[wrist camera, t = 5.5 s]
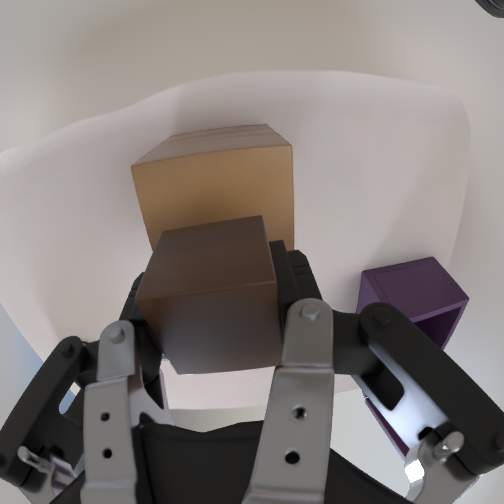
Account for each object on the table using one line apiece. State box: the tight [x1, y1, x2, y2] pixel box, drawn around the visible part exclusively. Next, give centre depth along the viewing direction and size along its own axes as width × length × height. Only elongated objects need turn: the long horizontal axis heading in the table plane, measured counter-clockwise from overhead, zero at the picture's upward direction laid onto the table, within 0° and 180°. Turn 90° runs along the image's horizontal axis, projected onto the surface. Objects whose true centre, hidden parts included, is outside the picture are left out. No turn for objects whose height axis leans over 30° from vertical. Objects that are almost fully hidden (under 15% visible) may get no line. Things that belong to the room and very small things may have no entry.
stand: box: [131, 124, 294, 251], centre depth 19 cm, size 8×8×10 cm
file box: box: [356, 257, 469, 398], centre depth 30 cm, size 16×11×8 cm
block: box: [135, 215, 283, 375], centre depth 10 cm, size 4×4×4 cm
